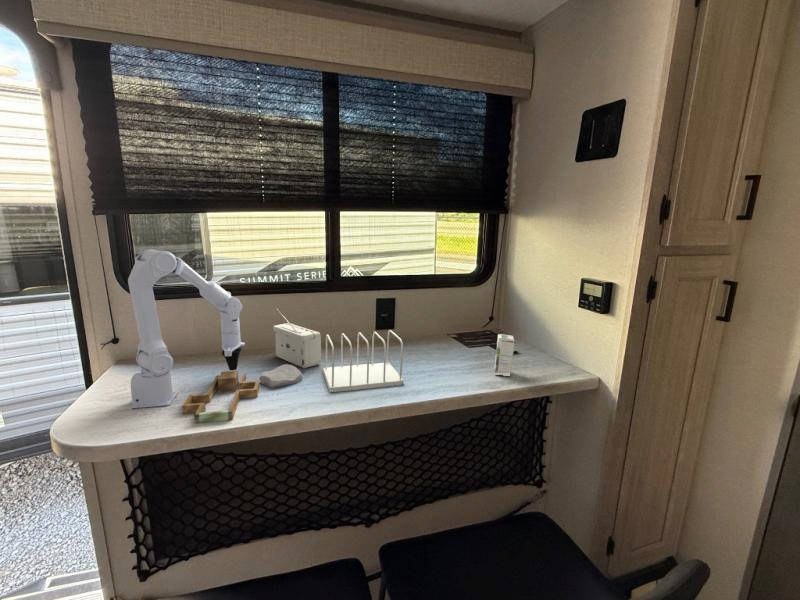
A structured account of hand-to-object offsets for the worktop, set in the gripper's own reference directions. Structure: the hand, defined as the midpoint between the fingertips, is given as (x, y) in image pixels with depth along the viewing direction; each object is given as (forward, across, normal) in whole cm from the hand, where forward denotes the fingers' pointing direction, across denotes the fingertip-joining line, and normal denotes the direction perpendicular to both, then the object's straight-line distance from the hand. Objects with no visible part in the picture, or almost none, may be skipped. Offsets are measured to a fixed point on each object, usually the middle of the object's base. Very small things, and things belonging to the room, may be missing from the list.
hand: (233, 369), depth 125 cm
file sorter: (+3, -10, -43) cm, 44 cm away
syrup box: (+3, -16, -95) cm, 96 cm away
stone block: (+3, -7, -16) cm, 18 cm away
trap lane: (+3, -17, 0) cm, 17 cm away
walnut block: (+3, -9, 0) cm, 9 cm away
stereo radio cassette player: (+3, +12, -21) cm, 25 cm away
